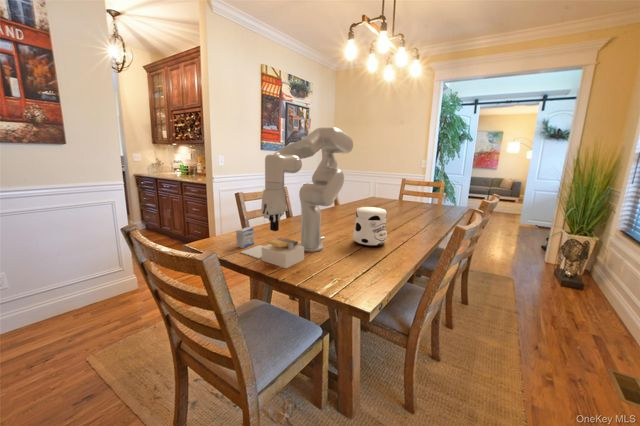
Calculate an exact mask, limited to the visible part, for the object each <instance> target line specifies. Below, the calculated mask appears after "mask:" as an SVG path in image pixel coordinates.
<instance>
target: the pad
mask: <svg viewBox="0 0 640 426" xmlns="http://www.w3.org/2000/svg"><path fill="white" fill-rule="evenodd" d="M263 246H264V245H262V244H260V245H256V246H253V247H251V248H248V249H247V248H246V249H245V250H242V251H240V253H241V254H243V255H246V256H248V255H249V256H250V257H252V258H254V259H257V260H260V259H262V247H263Z"/></svg>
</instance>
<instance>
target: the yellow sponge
mask: <svg viewBox="0 0 640 426" xmlns="http://www.w3.org/2000/svg"><path fill="white" fill-rule="evenodd" d="M277 239H278V240H273V239H272V240H267V241H266V243H267V245H269V244H270V245H274V246H277V247H284V246H286V247H288V244H289V243H293V245H298V244H299V242H298V241H297V240H293V239H289V238H280V239H279V238H277Z"/></svg>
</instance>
